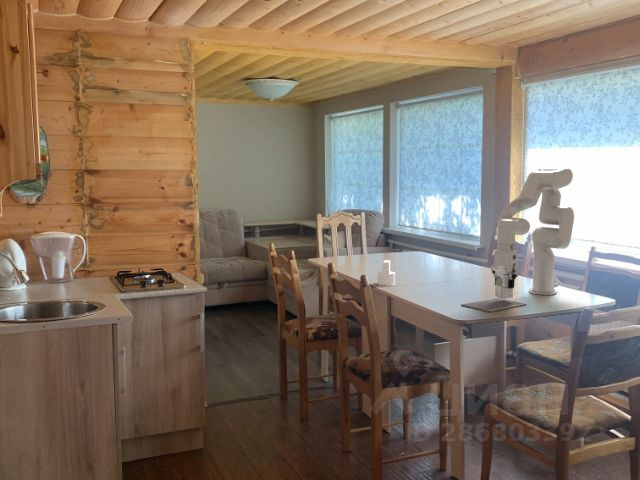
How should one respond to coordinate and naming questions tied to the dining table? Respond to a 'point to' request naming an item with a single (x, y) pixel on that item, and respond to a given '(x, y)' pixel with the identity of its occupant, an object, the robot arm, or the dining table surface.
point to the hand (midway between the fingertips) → (504, 286)
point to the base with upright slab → (386, 275)
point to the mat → (493, 304)
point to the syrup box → (503, 283)
